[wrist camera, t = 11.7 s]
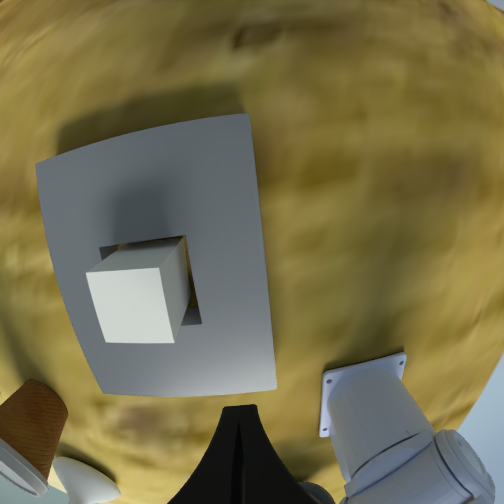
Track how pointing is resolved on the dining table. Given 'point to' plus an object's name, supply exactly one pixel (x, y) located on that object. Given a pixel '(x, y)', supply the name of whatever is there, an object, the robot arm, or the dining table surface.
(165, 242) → the plug block
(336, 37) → the dining table surface
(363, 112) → the dining table surface
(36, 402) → the disposable coffee cup
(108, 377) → the socket plate
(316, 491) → the bluetooth speaker
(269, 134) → the dining table surface
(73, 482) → the flower in vase
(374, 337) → the dining table surface
